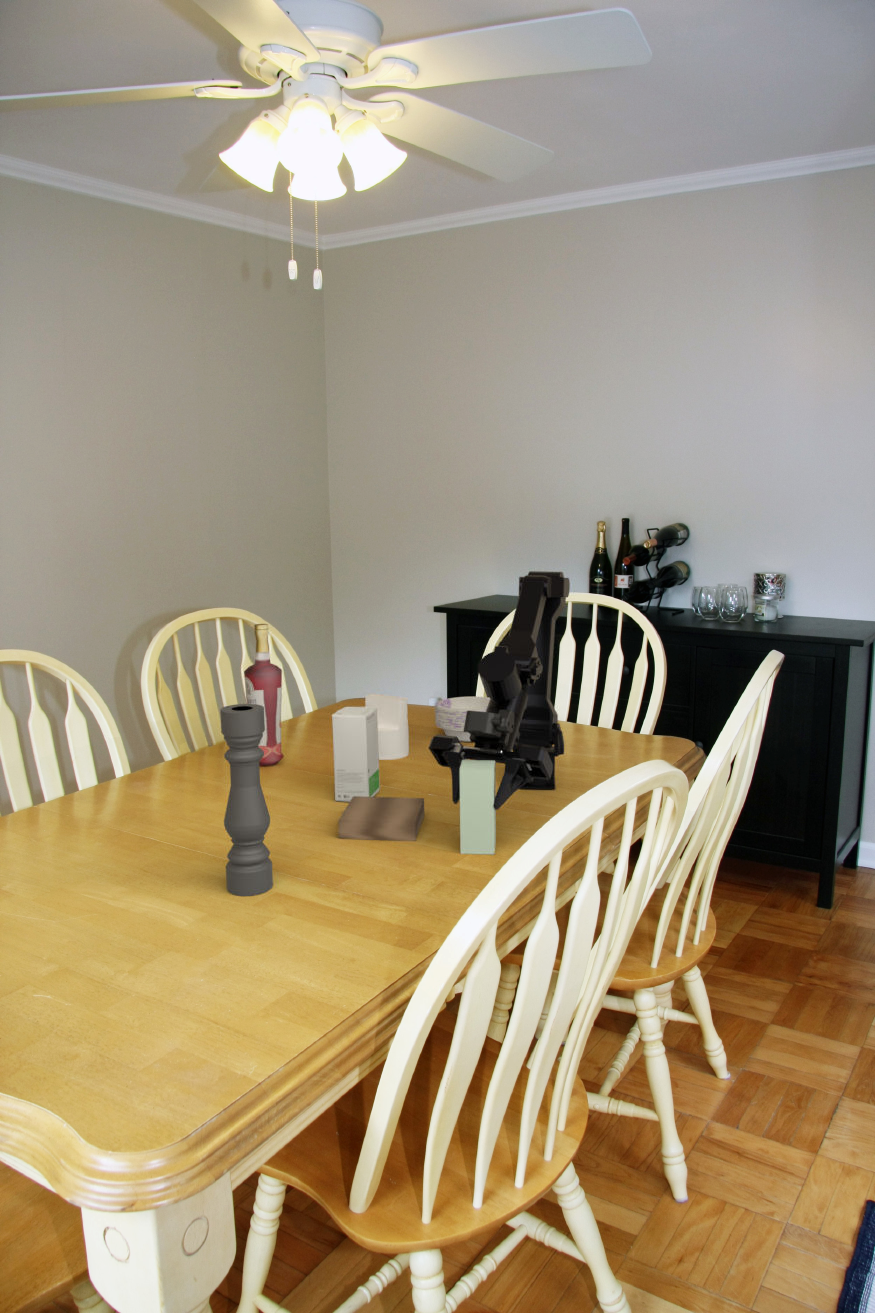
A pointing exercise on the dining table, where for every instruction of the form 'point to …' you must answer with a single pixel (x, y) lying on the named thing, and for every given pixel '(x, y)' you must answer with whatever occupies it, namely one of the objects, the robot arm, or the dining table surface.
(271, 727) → the liquor
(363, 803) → the walnut block
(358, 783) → the skincare box
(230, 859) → the candle holder
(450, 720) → the paper bowls
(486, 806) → the sage pillar block
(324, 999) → the dining table surface
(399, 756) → the base with upright slab
